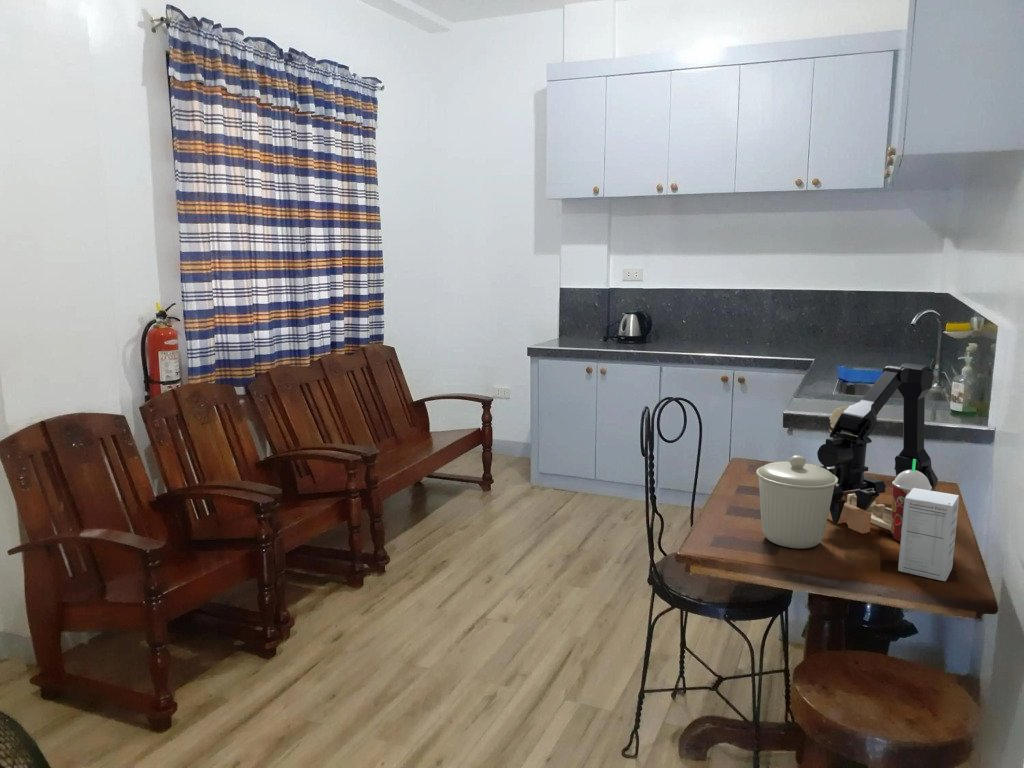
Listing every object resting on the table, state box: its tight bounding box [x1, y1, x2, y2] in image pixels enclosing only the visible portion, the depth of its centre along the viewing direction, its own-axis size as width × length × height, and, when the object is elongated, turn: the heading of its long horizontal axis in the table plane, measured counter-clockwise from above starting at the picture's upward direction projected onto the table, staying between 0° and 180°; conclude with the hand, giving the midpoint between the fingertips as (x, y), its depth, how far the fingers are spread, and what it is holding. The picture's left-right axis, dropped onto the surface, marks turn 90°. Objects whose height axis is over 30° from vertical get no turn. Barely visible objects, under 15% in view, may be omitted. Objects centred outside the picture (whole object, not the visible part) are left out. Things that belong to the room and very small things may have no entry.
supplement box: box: [897, 488, 960, 582], centre depth 163 cm, size 10×9×17 cm
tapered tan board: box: [827, 502, 872, 534], centre depth 191 cm, size 2×12×5 cm, turn 23°
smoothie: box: [890, 459, 933, 543], centre depth 180 cm, size 8×8×20 cm
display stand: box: [846, 492, 892, 532], centre depth 195 cm, size 8×16×5 cm, turn 23°
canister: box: [755, 454, 838, 549], centre depth 178 cm, size 18×18×21 cm
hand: (847, 520), depth 191 cm, fingers open, 8 cm apart
